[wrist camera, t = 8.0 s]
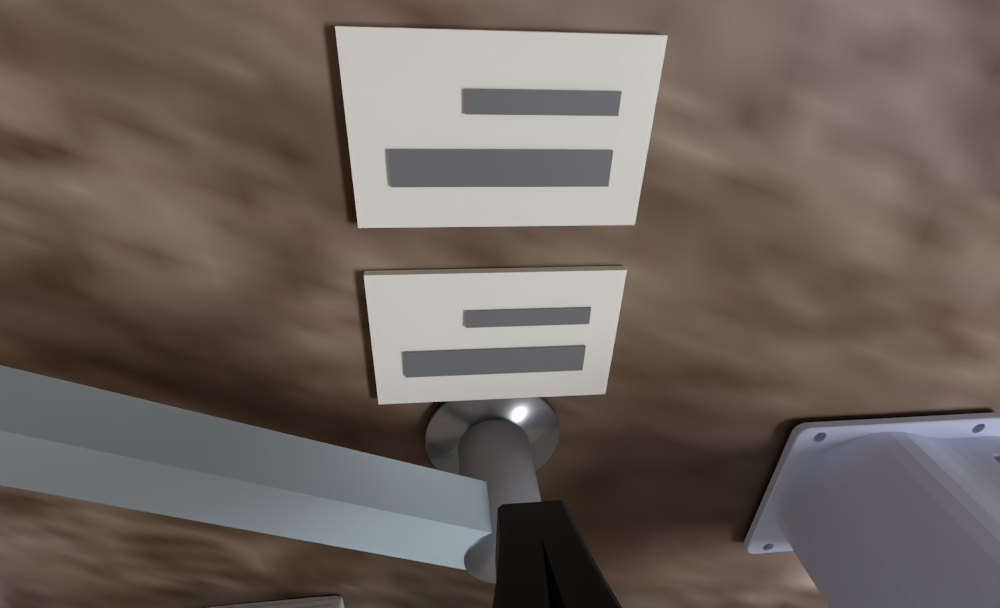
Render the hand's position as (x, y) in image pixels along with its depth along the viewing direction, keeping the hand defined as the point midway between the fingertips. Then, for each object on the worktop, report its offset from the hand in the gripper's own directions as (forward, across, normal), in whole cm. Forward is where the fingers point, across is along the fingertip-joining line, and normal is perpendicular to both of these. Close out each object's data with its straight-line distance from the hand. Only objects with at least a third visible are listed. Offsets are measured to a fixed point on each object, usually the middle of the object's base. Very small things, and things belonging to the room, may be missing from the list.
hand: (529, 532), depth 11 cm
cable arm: (+7, +6, +2) cm, 9 cm away
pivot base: (+7, 0, +4) cm, 9 cm away
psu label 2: (+7, 0, 0) cm, 7 cm away
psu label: (+7, 0, -6) cm, 10 cm away
